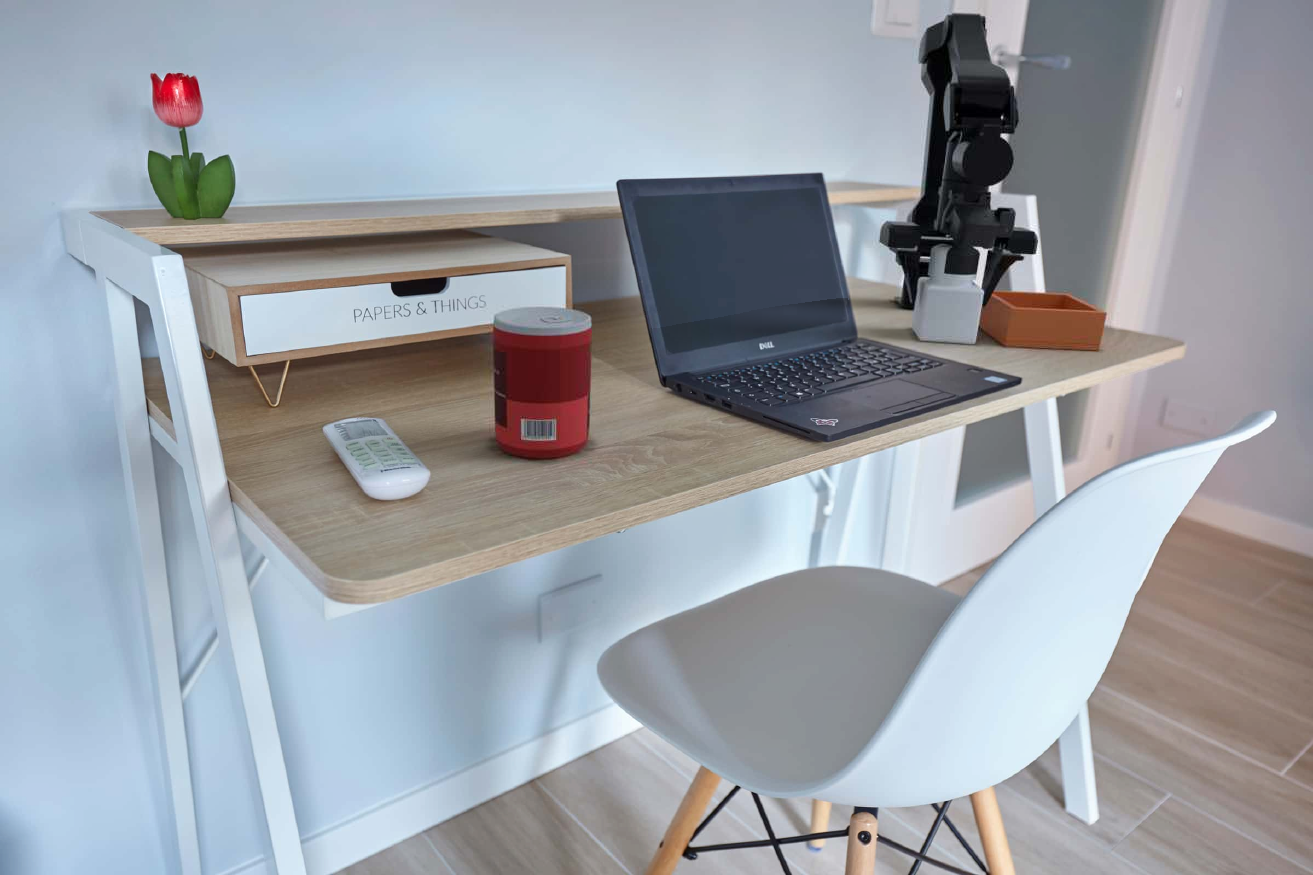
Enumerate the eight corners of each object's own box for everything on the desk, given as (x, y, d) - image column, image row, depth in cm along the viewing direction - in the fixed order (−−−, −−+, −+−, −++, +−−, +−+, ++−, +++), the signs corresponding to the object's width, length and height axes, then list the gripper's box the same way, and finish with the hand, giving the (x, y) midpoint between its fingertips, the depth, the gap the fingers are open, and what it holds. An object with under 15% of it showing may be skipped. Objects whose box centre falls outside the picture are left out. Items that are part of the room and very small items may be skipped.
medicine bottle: (964, 332, 126) (978, 243, 122) (975, 345, 119) (991, 251, 115) (910, 328, 127) (923, 239, 122) (919, 341, 120) (933, 248, 116)
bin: (975, 325, 131) (981, 289, 129) (1061, 329, 131) (1068, 293, 129) (1005, 346, 119) (1011, 308, 117) (1099, 350, 119) (1107, 312, 118)
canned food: (607, 446, 79) (611, 319, 75) (532, 468, 74) (531, 332, 70) (551, 422, 84) (552, 302, 80) (477, 441, 79) (473, 313, 75)
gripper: (907, 182, 109) (890, 313, 114) (1066, 190, 109) (1041, 321, 114) (886, 176, 119) (871, 296, 124) (1031, 183, 119) (1010, 303, 124)
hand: (947, 304), depth 121 cm, fingers open, 9 cm apart
